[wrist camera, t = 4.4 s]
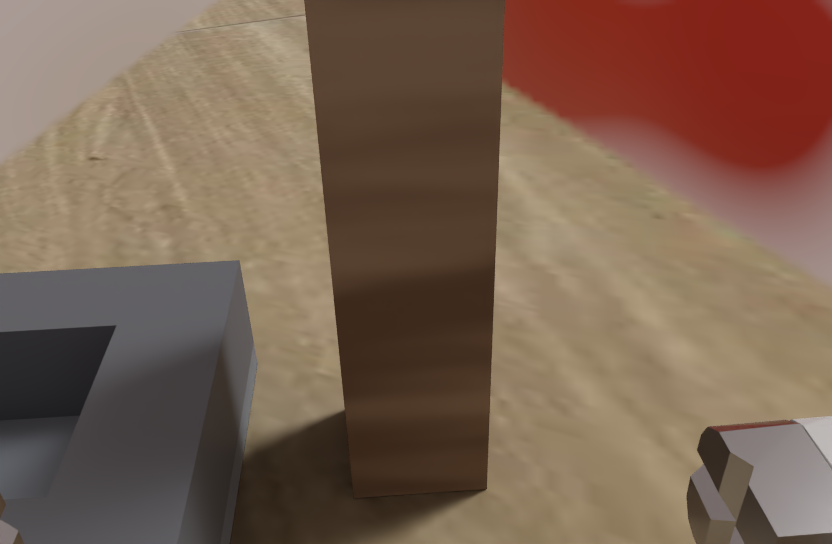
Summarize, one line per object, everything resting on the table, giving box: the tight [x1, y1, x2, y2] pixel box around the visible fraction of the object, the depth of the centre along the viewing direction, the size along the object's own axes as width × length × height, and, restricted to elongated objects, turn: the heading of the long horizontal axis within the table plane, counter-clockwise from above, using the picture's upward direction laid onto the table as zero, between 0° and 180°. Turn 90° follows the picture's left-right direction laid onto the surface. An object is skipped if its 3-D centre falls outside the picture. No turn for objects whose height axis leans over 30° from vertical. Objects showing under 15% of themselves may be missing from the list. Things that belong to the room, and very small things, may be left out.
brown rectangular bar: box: [304, 0, 505, 498], centre depth 21 cm, size 4×4×16 cm
